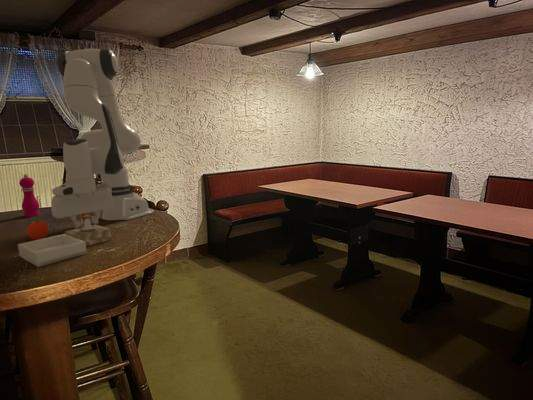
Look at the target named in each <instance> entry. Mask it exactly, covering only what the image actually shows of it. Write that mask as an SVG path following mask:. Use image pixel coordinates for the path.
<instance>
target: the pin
mask: <svg viewBox="0 0 533 400" xmlns="http://www.w3.org/2000/svg"><path fill="white" fill-rule="evenodd" d="M80 220H81V228H82V229H83V232H88V231H92V225H93V224H92V218H91V213H86V214H80Z"/></svg>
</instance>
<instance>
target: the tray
mask: <svg viewBox="0 0 533 400" xmlns="http://www.w3.org/2000/svg"><path fill="white" fill-rule="evenodd" d="M17 248H18V254H19V257H20V258H22V259H24V260H25V261H27V262H29V263H31V264H32V265H34V266H35V267H38V268H39V267H40V268H41V267H42V266H47V265H50V264H53V263H58V262H61V261H64V260H68V259H69V260H70V259H73V258H77V257H80V256H84V255H87V254H88V252H87V251H88V250H87V246H86V244H85V241H82V240H80V239H77V238H74V237H71V236H69V235H66V234H65V233H62V234H59V235H53V236H49V237H45V238H43V239H39V240H31V241H28V242H22V243H17Z"/></svg>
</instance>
